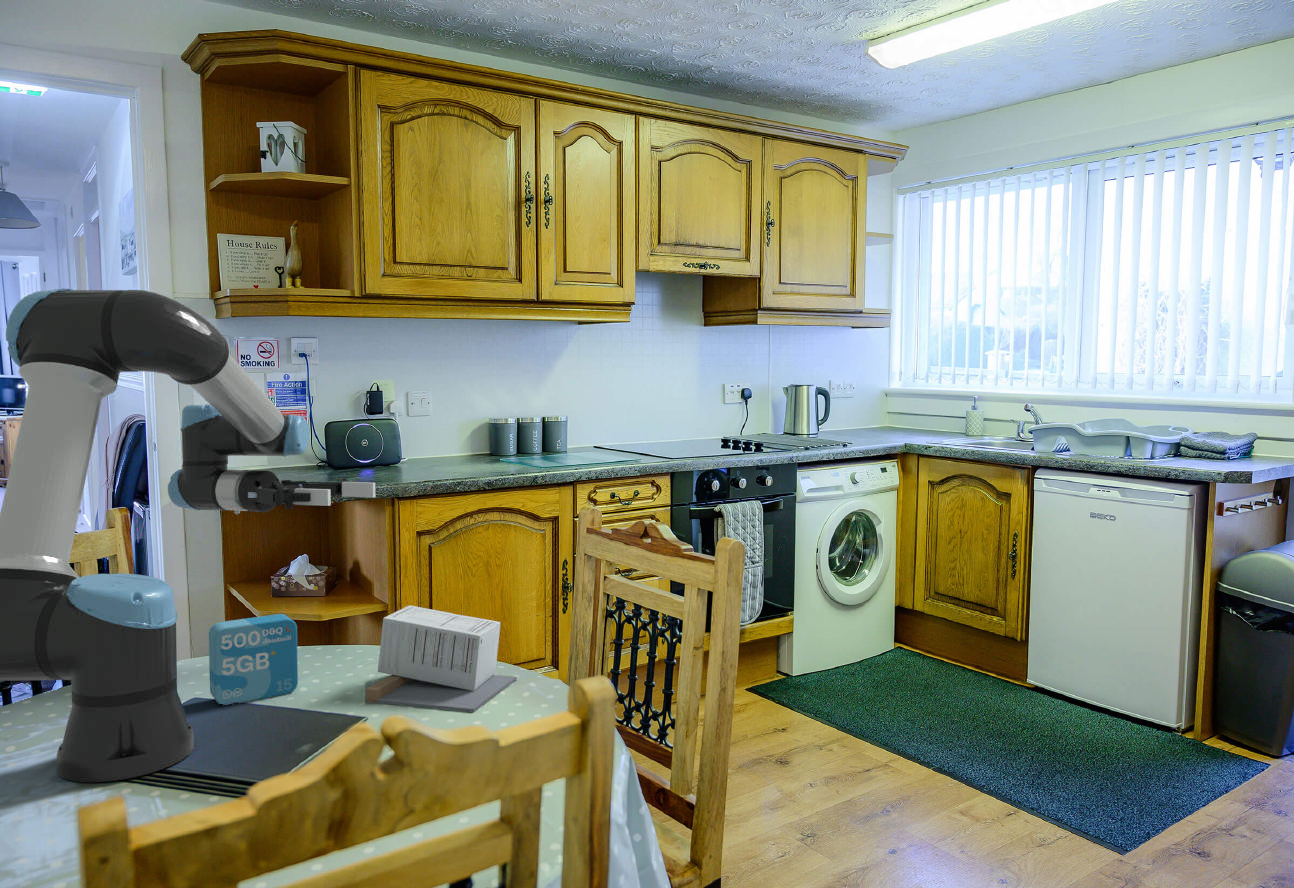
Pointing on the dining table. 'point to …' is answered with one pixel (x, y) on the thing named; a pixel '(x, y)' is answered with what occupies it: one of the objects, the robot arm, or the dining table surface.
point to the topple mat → (435, 693)
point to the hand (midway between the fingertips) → (352, 493)
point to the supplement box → (439, 647)
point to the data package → (253, 658)
